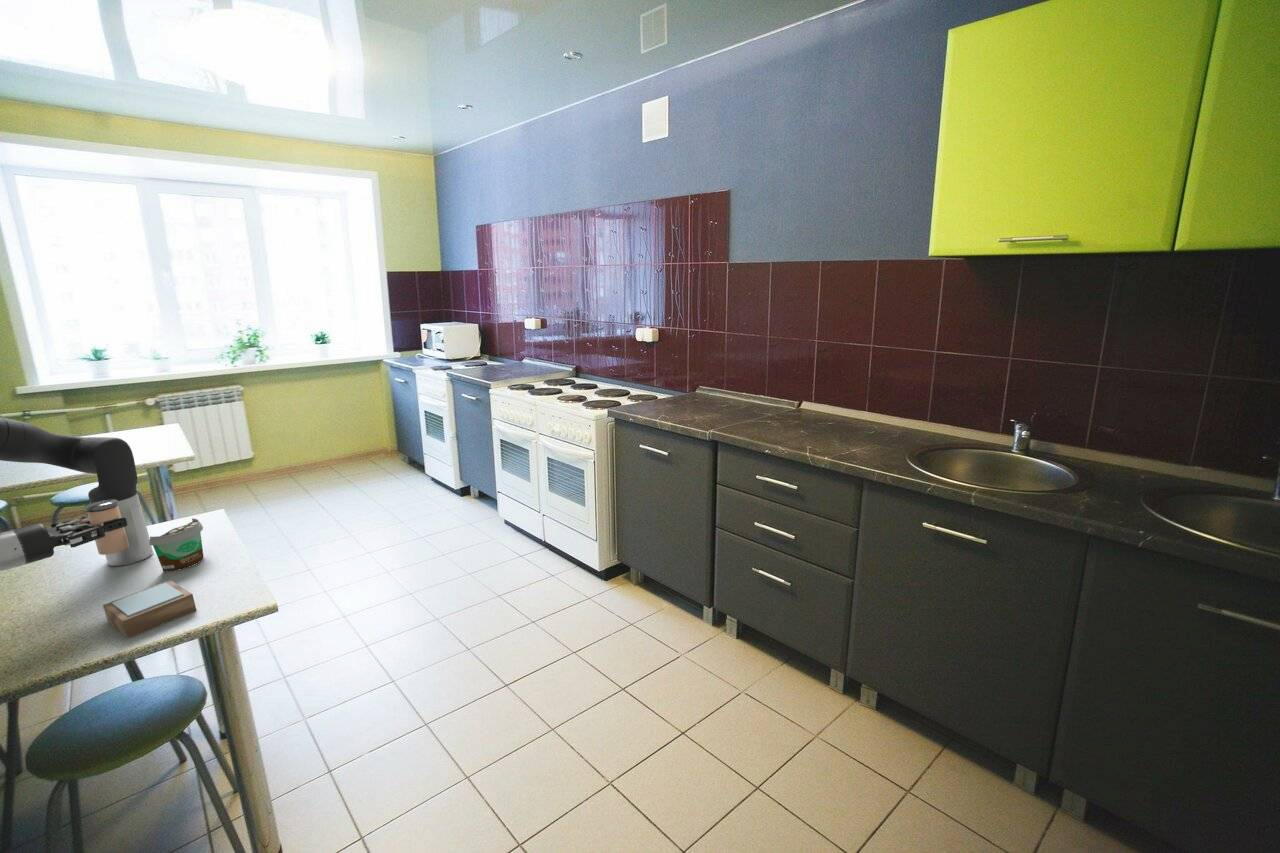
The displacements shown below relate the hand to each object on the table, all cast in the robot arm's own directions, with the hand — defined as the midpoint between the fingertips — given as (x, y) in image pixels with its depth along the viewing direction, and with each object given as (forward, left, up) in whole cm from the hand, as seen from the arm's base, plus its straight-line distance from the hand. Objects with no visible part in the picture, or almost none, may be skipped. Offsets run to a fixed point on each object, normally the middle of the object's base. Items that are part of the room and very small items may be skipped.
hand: (121, 518), depth 132 cm
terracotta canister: (0, -3, -6) cm, 7 cm away
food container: (-7, +12, -19) cm, 24 cm away
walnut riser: (+15, -3, -19) cm, 24 cm away
